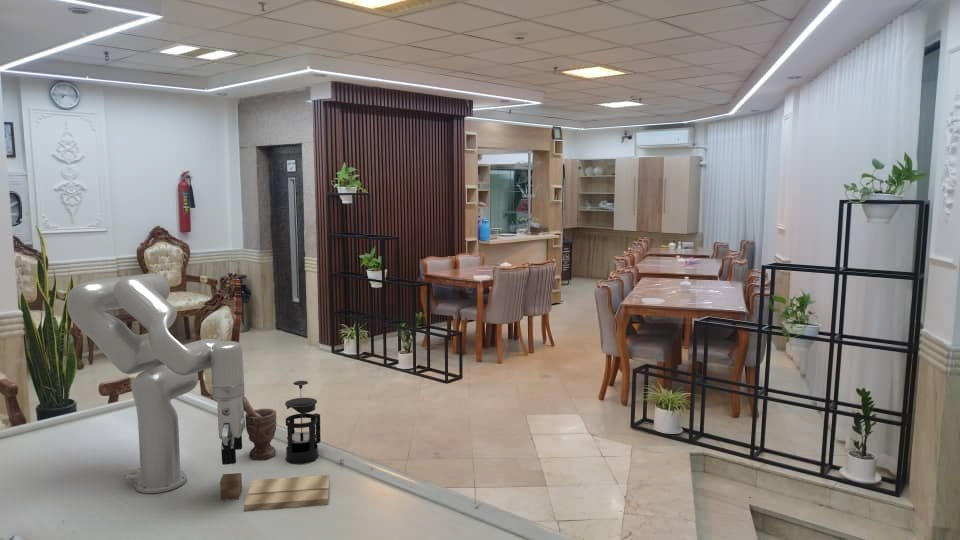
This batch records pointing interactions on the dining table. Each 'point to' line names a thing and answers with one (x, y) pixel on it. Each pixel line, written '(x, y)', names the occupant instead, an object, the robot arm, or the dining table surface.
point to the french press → (301, 443)
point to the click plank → (289, 484)
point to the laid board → (286, 499)
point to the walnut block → (230, 486)
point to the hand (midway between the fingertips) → (232, 456)
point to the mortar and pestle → (260, 430)
